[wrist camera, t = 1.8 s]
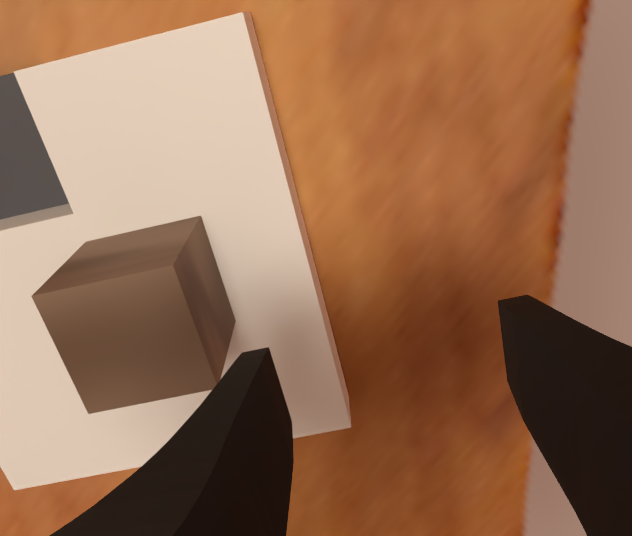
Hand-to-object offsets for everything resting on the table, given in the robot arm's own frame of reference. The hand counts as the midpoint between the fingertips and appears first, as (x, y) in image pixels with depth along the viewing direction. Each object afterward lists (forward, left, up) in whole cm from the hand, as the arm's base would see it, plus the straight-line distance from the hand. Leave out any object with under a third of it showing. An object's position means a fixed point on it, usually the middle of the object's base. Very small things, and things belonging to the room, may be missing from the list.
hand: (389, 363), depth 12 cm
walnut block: (0, +7, -7) cm, 10 cm away
